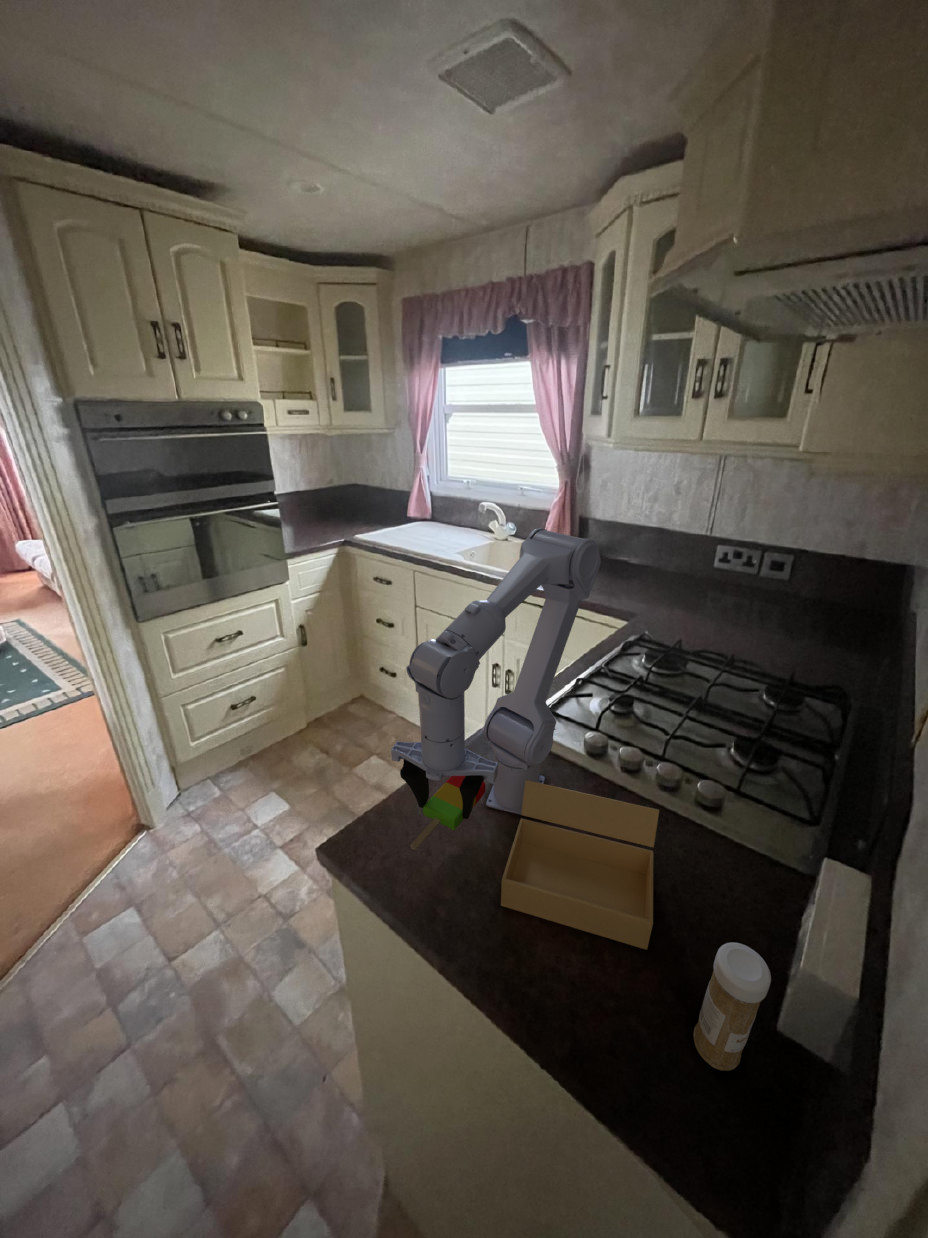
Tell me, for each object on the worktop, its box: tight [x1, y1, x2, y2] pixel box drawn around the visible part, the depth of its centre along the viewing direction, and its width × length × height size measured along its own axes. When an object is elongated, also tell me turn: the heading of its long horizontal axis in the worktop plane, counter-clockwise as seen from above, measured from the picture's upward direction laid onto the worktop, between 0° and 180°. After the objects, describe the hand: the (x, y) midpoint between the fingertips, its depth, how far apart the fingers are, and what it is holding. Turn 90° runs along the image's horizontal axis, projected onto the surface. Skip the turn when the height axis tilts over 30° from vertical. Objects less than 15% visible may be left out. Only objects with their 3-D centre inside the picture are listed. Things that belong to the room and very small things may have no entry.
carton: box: [500, 817, 654, 951], centre depth 68 cm, size 11×18×5 cm, turn 71°
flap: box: [520, 780, 660, 849], centre depth 71 cm, size 5×18×1 cm
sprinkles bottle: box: [692, 942, 772, 1072], centre depth 50 cm, size 5×5×14 cm
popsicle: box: [410, 776, 487, 851], centre depth 72 cm, size 6×15×2 cm, turn 147°
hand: (445, 808), depth 72 cm, fingers closed on popsicle, 6 cm apart
